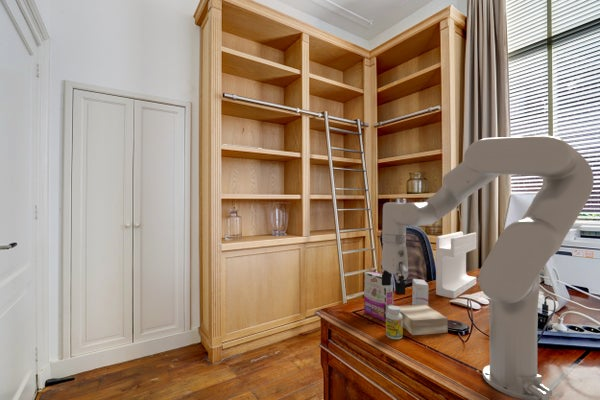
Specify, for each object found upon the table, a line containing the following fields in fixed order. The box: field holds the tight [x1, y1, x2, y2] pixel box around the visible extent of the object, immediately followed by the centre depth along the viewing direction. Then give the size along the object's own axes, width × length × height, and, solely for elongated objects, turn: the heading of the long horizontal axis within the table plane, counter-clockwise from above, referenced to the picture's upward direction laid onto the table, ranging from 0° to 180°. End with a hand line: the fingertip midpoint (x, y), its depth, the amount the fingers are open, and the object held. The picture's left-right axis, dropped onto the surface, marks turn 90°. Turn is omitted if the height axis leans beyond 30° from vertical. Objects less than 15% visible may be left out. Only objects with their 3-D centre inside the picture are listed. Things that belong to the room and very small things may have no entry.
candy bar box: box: [363, 270, 395, 323], centre depth 113 cm, size 11×5×16 cm, turn 33°
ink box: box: [411, 278, 430, 306], centre depth 119 cm, size 9×5×12 cm, turn 168°
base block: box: [397, 304, 449, 336], centre depth 104 cm, size 13×13×5 cm
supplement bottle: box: [385, 305, 404, 340], centre depth 96 cm, size 5×5×10 cm
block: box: [435, 231, 478, 299], centre depth 148 cm, size 35×8×28 cm, turn 134°
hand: (392, 289), depth 97 cm, fingers open, 9 cm apart
